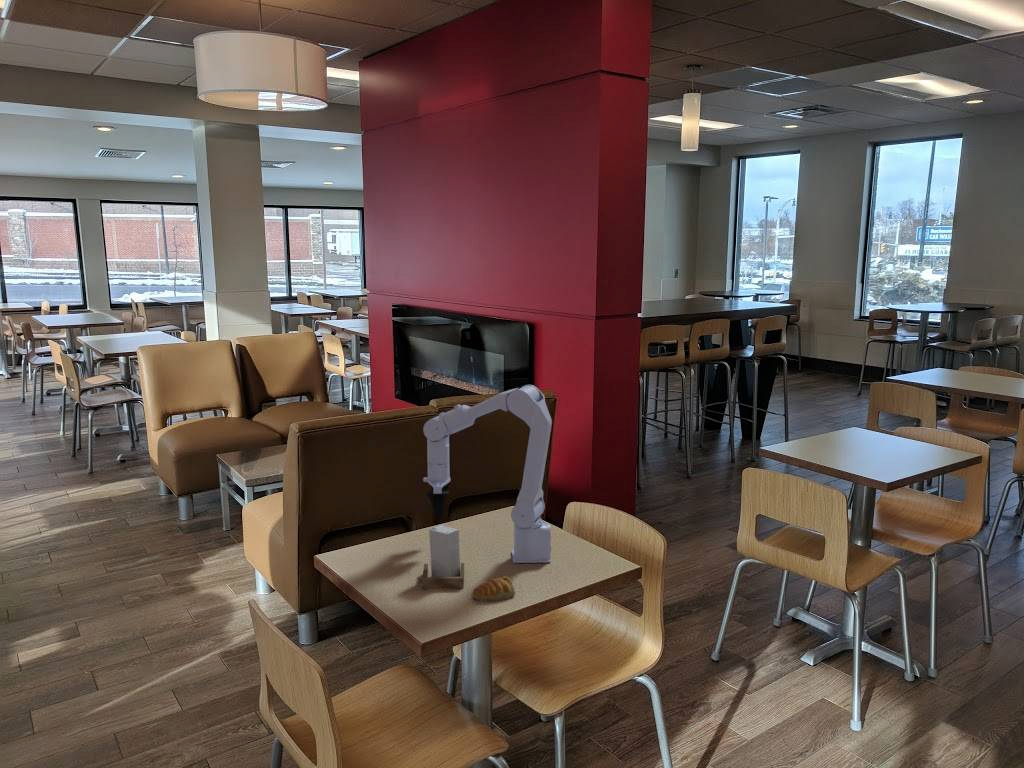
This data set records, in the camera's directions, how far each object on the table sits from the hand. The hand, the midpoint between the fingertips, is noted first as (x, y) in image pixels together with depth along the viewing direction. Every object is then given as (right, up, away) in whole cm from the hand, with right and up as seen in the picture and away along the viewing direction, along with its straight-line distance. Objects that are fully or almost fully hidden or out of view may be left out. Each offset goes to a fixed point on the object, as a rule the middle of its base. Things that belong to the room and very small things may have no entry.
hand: (439, 511), depth 197 cm
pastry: (+16, -15, -28) cm, 35 cm away
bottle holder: (+3, -13, -20) cm, 24 cm away
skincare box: (+3, -13, -18) cm, 23 cm away
